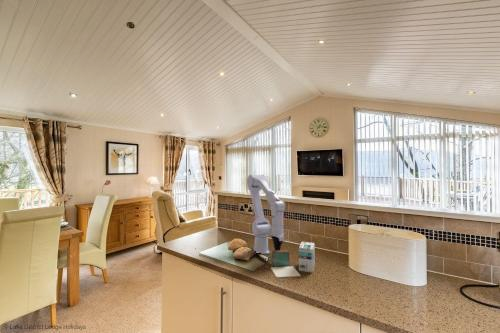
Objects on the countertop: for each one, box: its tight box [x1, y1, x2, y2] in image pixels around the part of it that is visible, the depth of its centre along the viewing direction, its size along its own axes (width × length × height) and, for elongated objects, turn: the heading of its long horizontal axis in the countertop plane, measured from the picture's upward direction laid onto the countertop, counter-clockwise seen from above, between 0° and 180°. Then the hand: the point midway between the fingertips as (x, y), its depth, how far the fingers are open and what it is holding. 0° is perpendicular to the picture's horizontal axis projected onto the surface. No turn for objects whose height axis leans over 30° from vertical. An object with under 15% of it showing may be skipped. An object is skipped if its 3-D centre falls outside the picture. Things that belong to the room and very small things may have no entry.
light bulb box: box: [298, 241, 316, 274], centre depth 115 cm, size 11×7×11 cm, turn 161°
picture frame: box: [271, 249, 290, 267], centre depth 117 cm, size 3×8×7 cm, turn 100°
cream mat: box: [270, 265, 301, 278], centre depth 110 cm, size 10×11×1 cm
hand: (277, 251), depth 123 cm, fingers closed
